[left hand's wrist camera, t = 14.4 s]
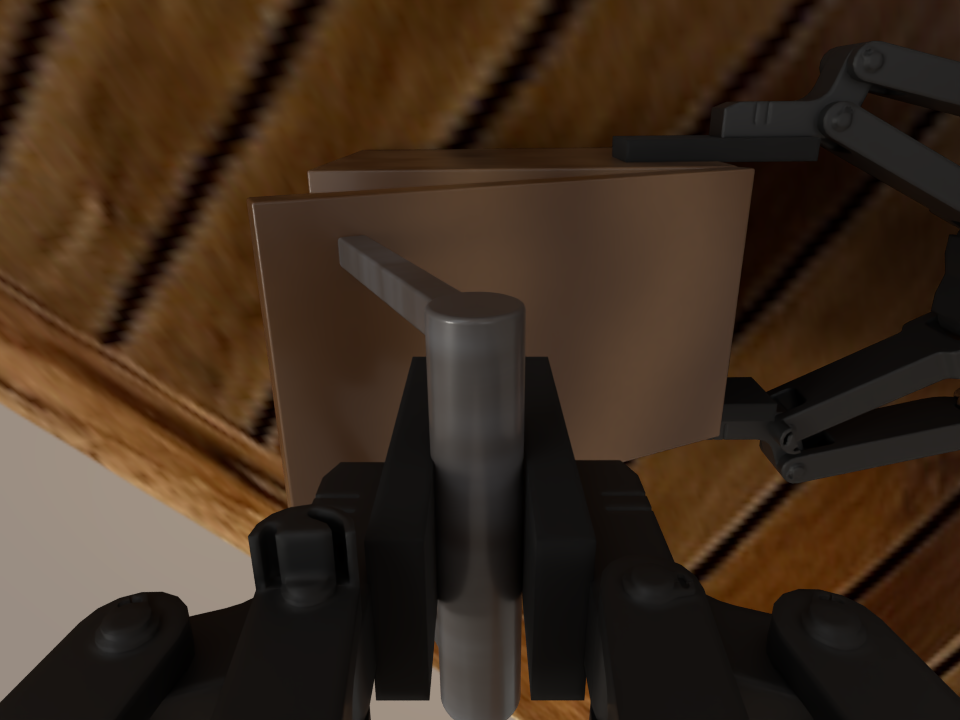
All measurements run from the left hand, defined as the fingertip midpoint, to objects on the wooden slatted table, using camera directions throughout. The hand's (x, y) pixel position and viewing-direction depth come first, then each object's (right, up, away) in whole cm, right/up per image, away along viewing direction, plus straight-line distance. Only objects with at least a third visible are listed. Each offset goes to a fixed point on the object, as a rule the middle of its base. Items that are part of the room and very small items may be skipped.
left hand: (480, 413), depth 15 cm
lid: (+1, +2, +5) cm, 5 cm away
